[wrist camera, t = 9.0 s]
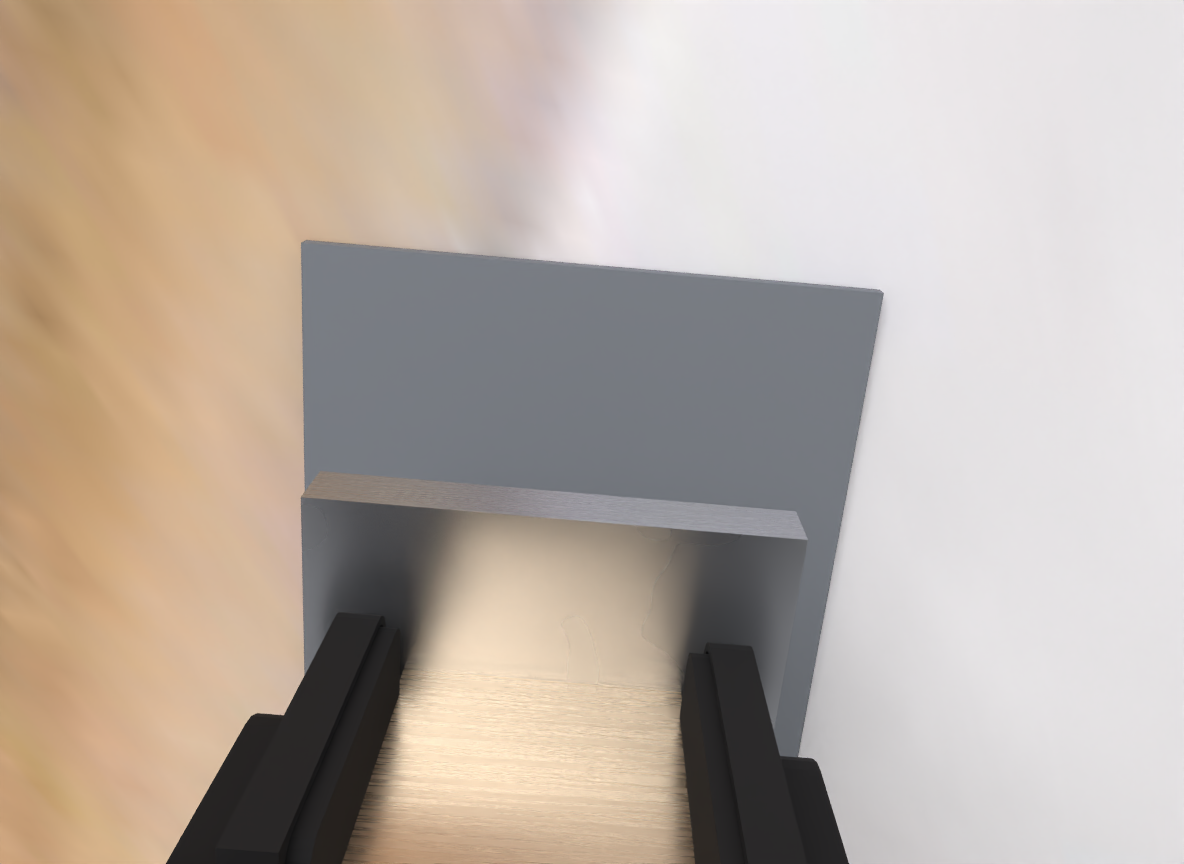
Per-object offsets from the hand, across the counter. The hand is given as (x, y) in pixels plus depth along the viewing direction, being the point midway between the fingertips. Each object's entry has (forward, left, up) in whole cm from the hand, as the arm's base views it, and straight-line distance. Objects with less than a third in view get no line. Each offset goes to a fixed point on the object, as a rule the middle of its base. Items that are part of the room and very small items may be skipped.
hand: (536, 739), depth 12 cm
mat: (-1, +1, -7) cm, 7 cm away
